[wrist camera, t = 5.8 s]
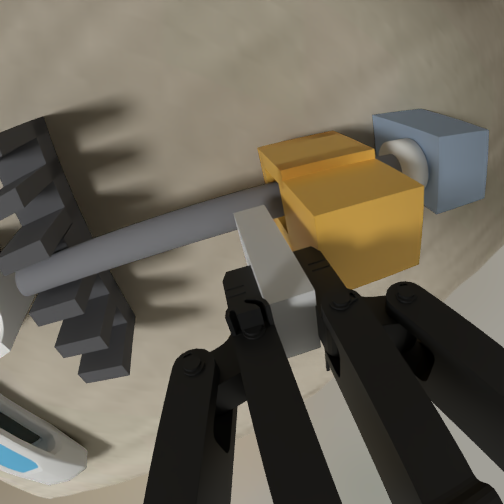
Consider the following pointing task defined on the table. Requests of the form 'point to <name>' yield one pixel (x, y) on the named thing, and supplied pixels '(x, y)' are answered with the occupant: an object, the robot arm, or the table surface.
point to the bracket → (11, 311)
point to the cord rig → (177, 226)
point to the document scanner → (39, 449)
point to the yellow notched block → (346, 205)
